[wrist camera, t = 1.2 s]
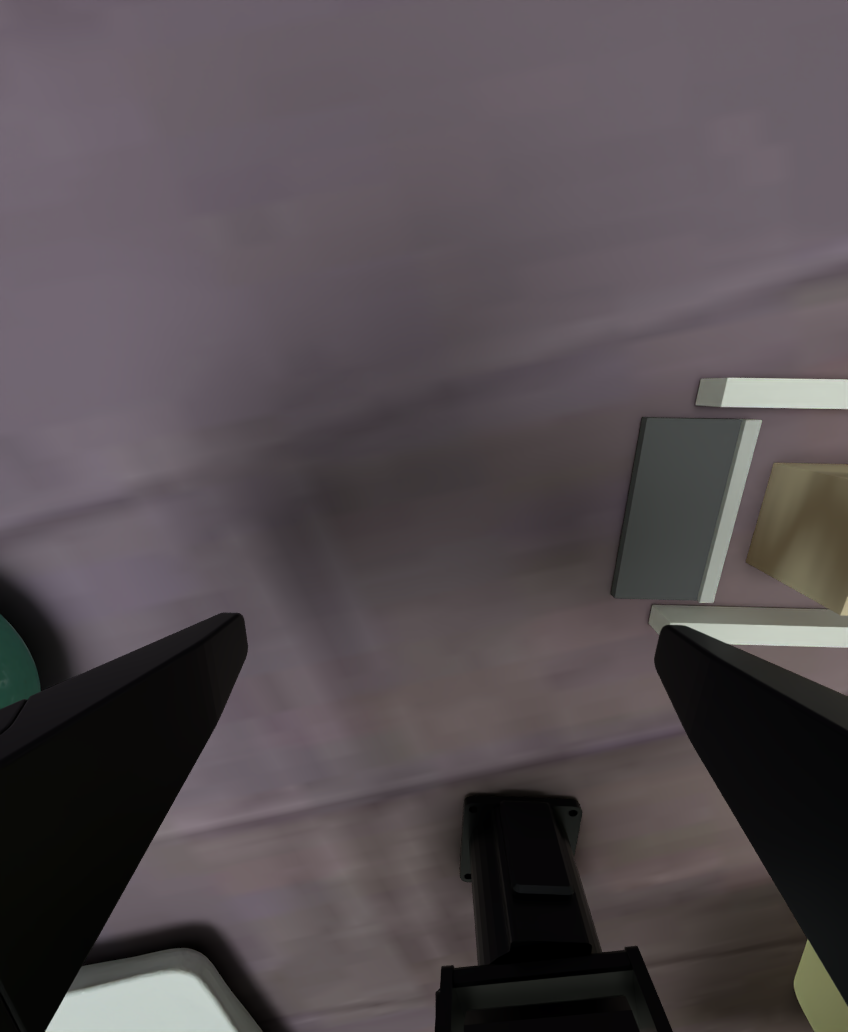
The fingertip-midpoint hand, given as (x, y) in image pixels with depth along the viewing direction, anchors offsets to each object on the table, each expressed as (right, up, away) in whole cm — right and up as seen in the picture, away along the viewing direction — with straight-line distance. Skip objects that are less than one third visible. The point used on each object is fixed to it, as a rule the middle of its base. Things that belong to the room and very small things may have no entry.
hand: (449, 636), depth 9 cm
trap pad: (+10, +3, +9) cm, 14 cm away
